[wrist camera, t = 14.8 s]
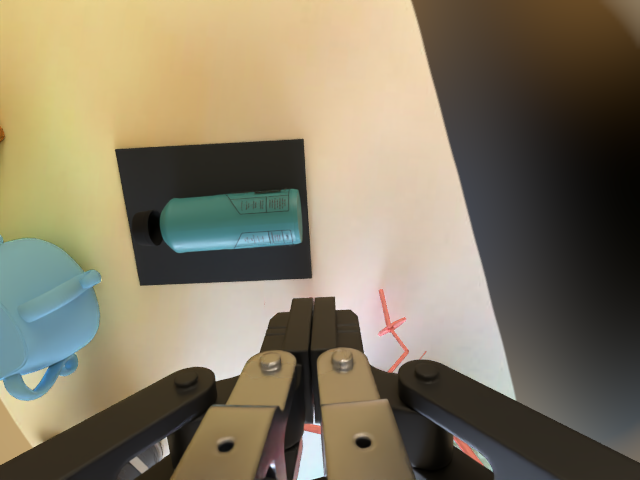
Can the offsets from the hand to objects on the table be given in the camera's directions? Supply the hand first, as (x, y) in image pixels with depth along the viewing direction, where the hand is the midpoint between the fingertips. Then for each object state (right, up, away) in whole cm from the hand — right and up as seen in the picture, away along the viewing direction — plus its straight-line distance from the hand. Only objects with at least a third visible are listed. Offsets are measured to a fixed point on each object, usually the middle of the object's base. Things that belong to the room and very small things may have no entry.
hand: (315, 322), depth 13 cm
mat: (-12, +6, +33) cm, 36 cm away
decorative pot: (-35, -4, +36) cm, 50 cm away
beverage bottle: (0, +6, +29) cm, 29 cm away
